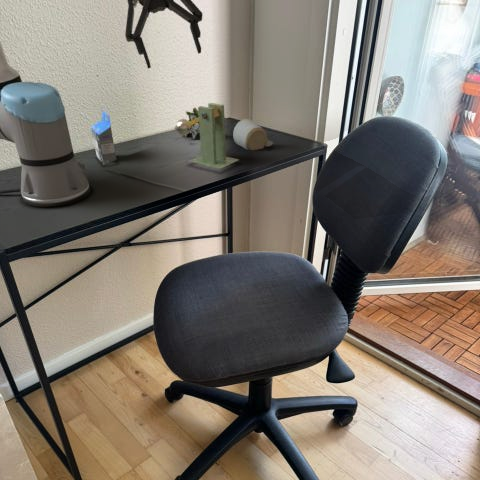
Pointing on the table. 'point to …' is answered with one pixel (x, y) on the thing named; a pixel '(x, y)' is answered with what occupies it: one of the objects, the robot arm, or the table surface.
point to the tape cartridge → (104, 140)
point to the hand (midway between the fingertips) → (174, 58)
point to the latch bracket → (212, 138)
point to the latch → (190, 123)
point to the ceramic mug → (250, 135)
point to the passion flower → (192, 117)
